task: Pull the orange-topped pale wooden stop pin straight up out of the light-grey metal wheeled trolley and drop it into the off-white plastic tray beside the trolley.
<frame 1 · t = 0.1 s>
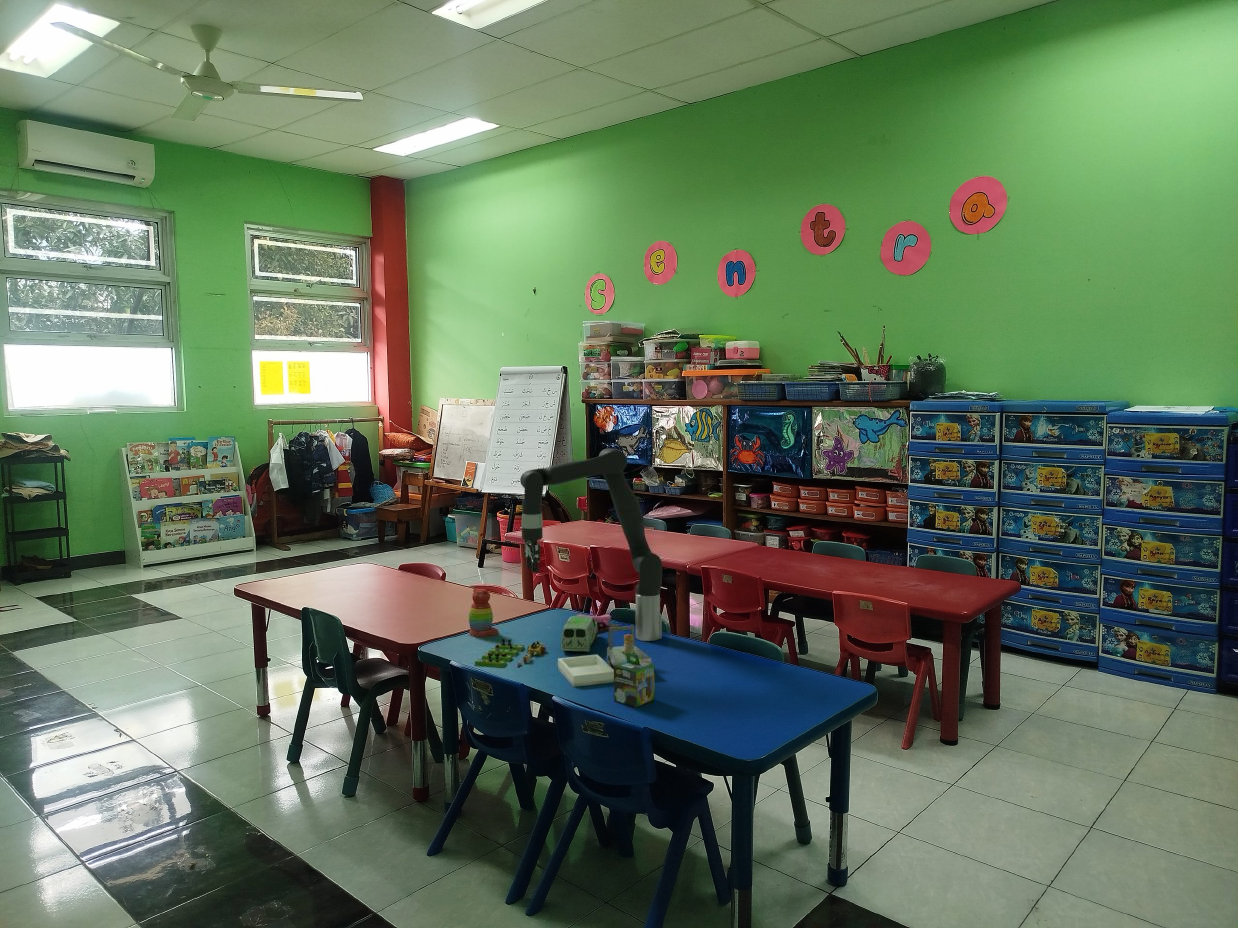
hand: (532, 570, 301), 29 cm above the table, fingers open, 8 cm apart
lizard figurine: (594, 630, 332), on the table
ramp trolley: (628, 670, 279), on the table
stop pin: (628, 652, 279), in the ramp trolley
parts tray: (585, 675, 275), on the table
toy garden set: (512, 659, 294), on the table
stacking bear: (481, 633, 324), on the table
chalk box: (634, 701, 251), on the table
toy car: (579, 645, 309), on the table
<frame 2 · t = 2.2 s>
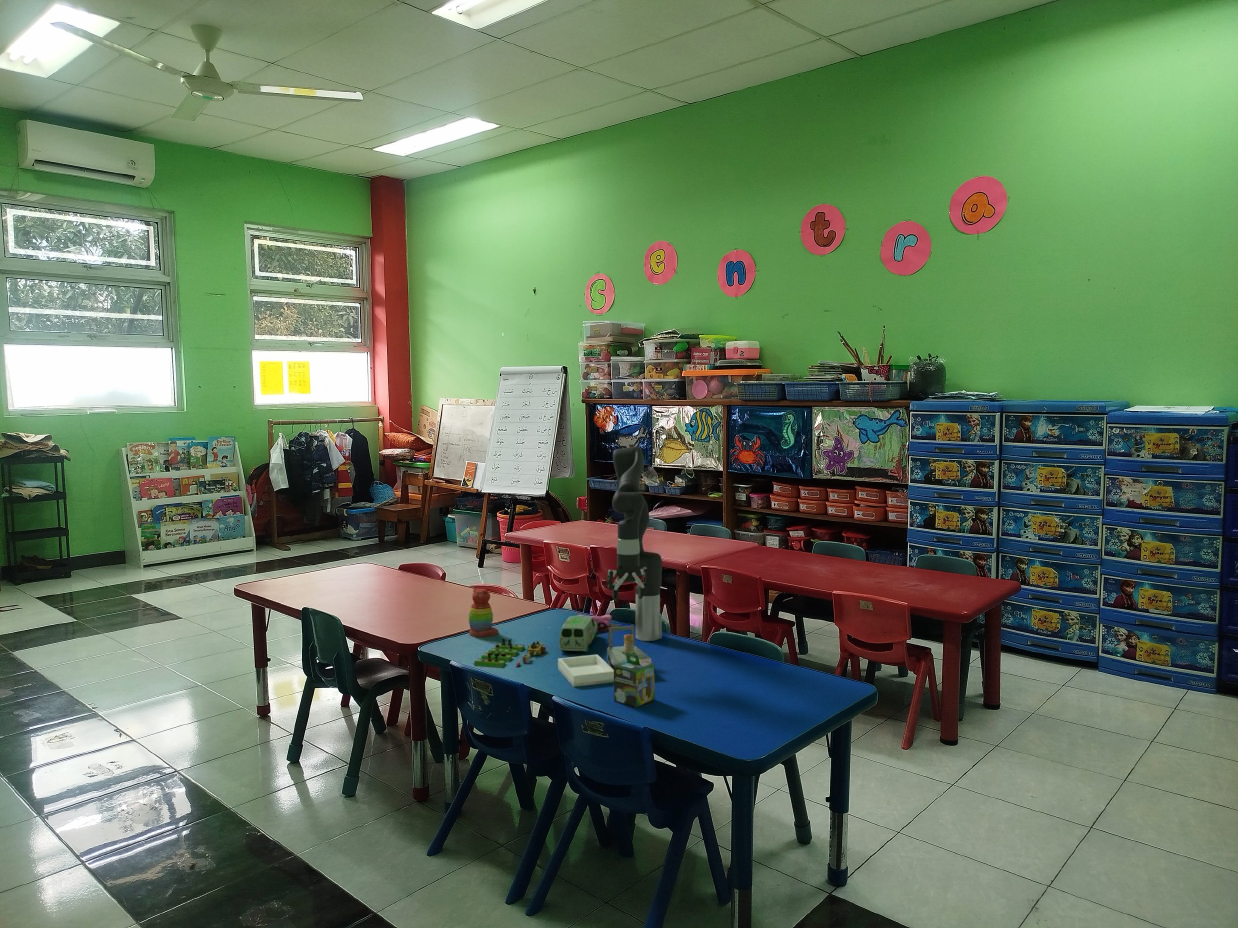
hand: (628, 599, 278), 24 cm above the table, fingers open, 8 cm apart
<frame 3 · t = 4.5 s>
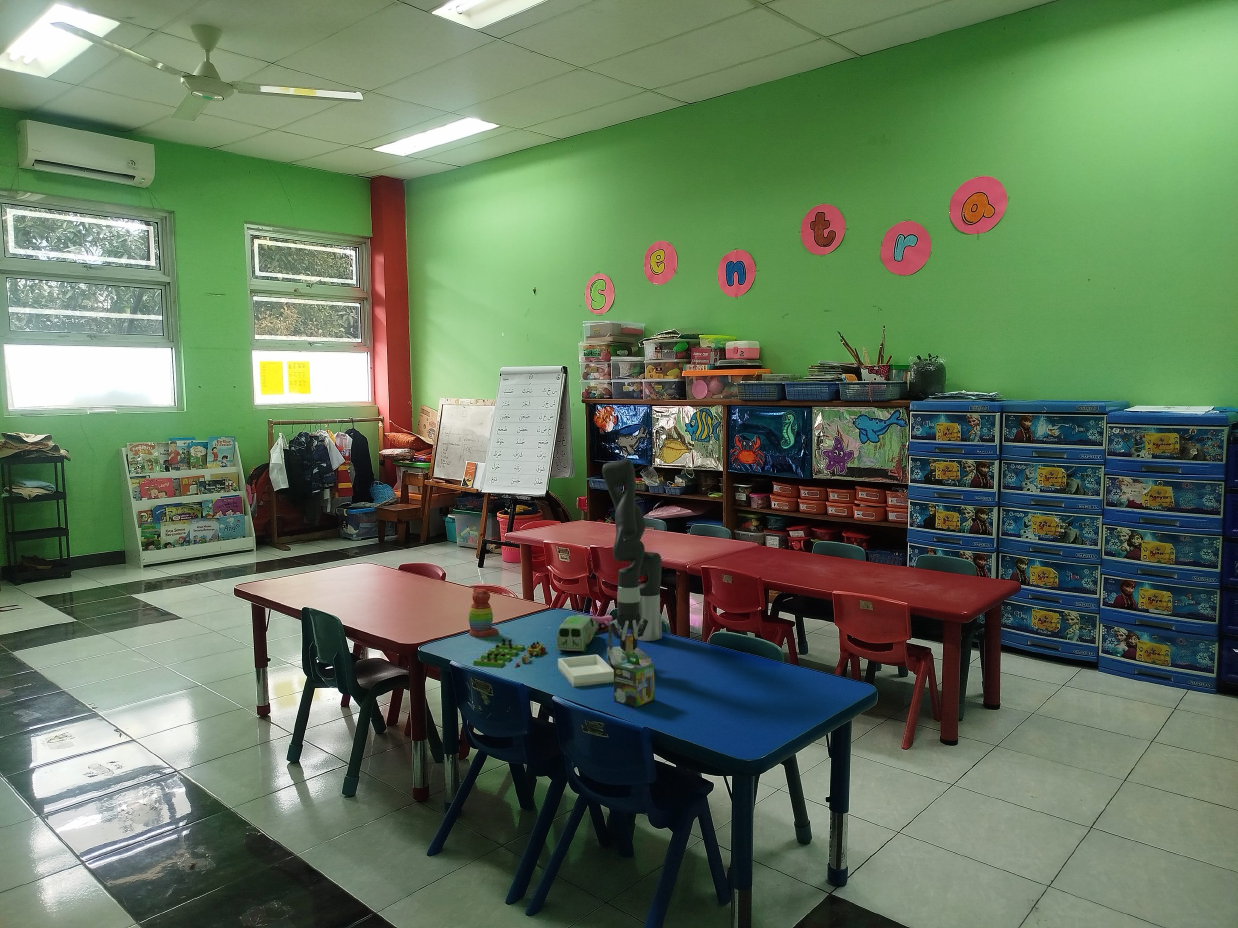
hand: (628, 649, 279), 7 cm above the table, fingers closed on stop pin, 3 cm apart
stop pin: (628, 652, 279), in the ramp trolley, touching gripper
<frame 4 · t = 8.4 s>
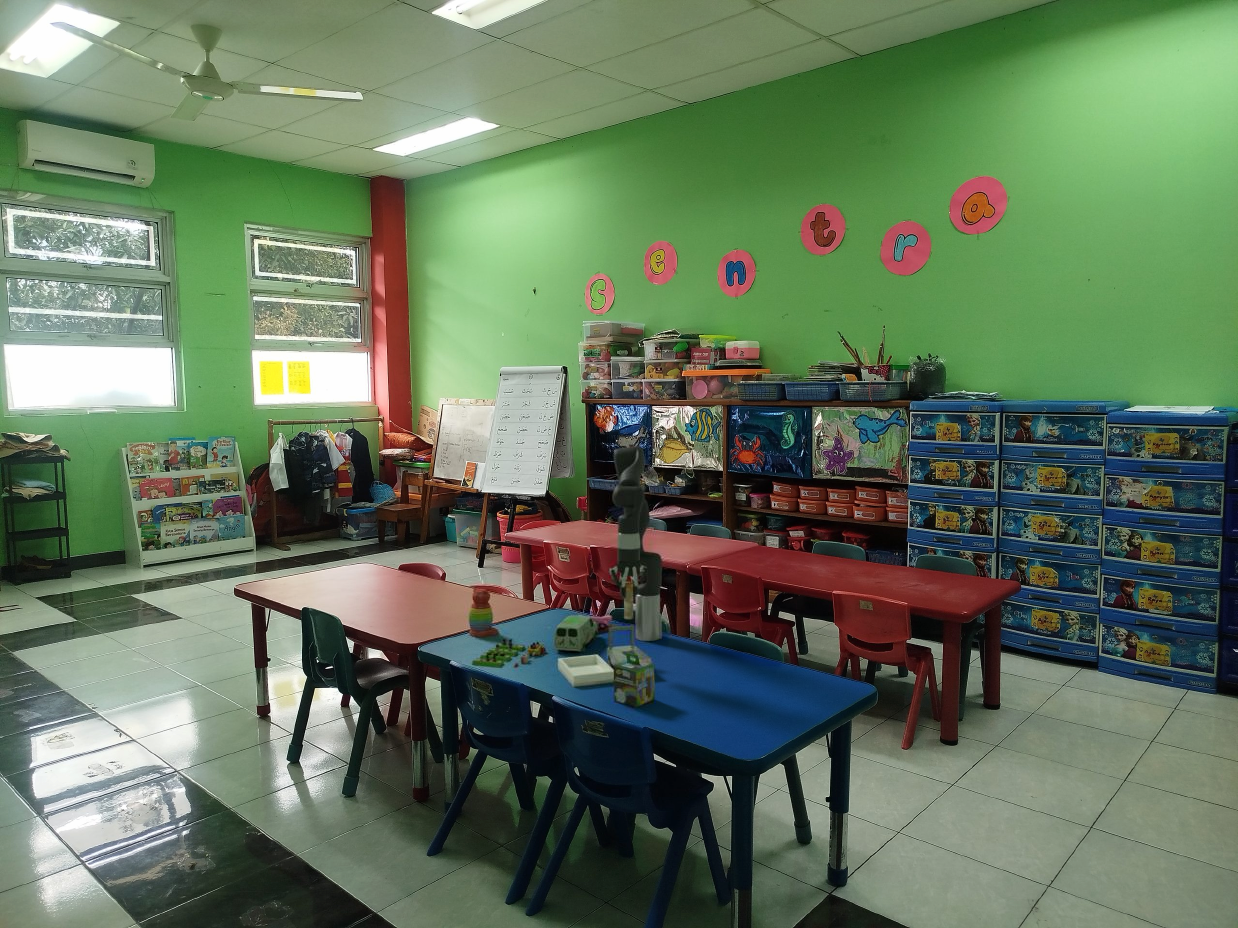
hand: (628, 596, 278), 25 cm above the table, fingers closed on stop pin, 3 cm apart
stop pin: (628, 600, 278), point 24 cm above the table, touching gripper
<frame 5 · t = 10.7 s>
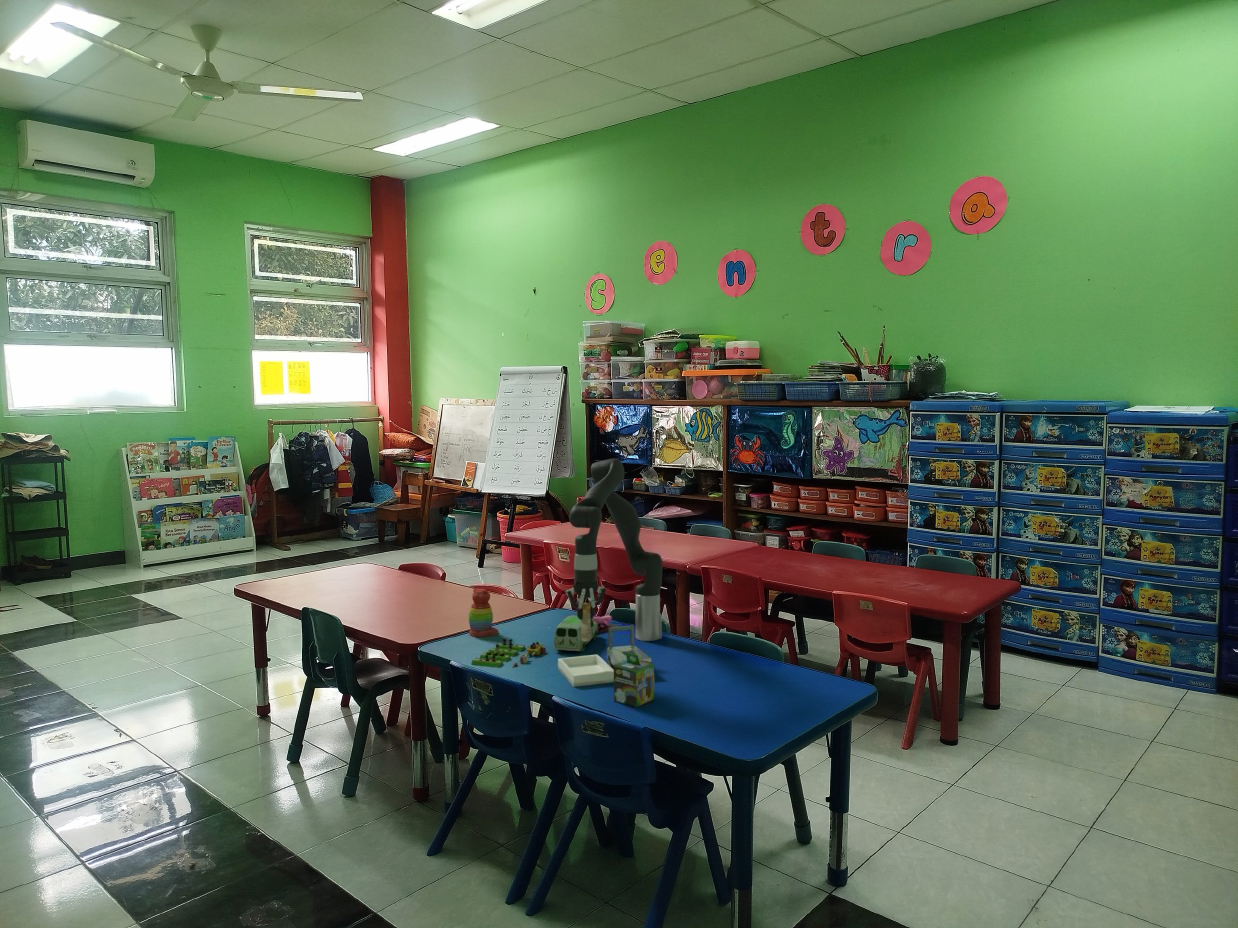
hand: (585, 618, 273), 19 cm above the table, fingers closed on stop pin, 3 cm apart
stop pin: (585, 621, 273), point 18 cm above the table, touching gripper
when the fingers open (10 cm above the table, at t = 12.5 s): stop pin drops 2 cm, resting on parts tray.
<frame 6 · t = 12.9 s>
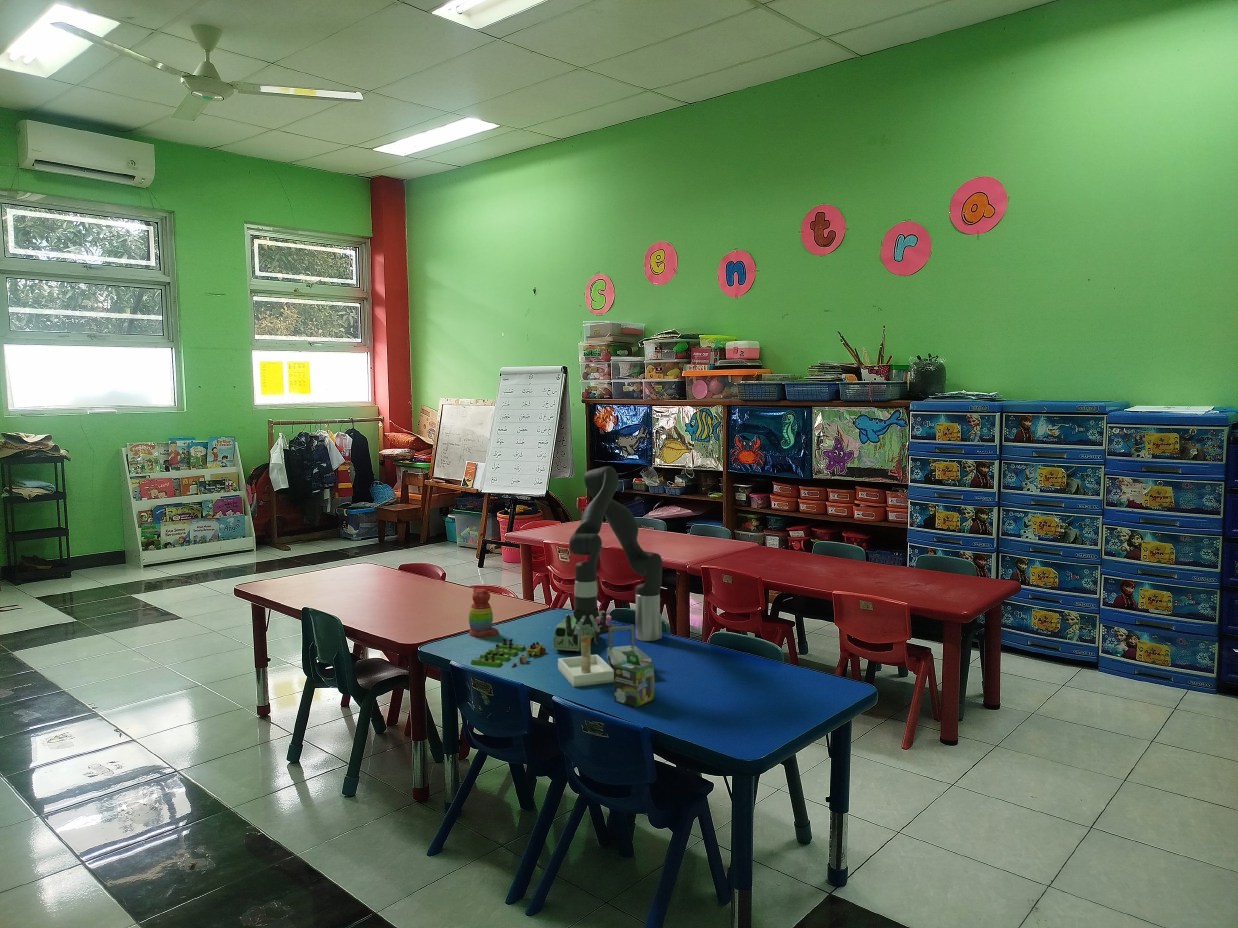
hand: (585, 643, 274), 11 cm above the table, fingers open, 6 cm apart
stop pin: (586, 654, 274), in the parts tray, point 7 cm above the table
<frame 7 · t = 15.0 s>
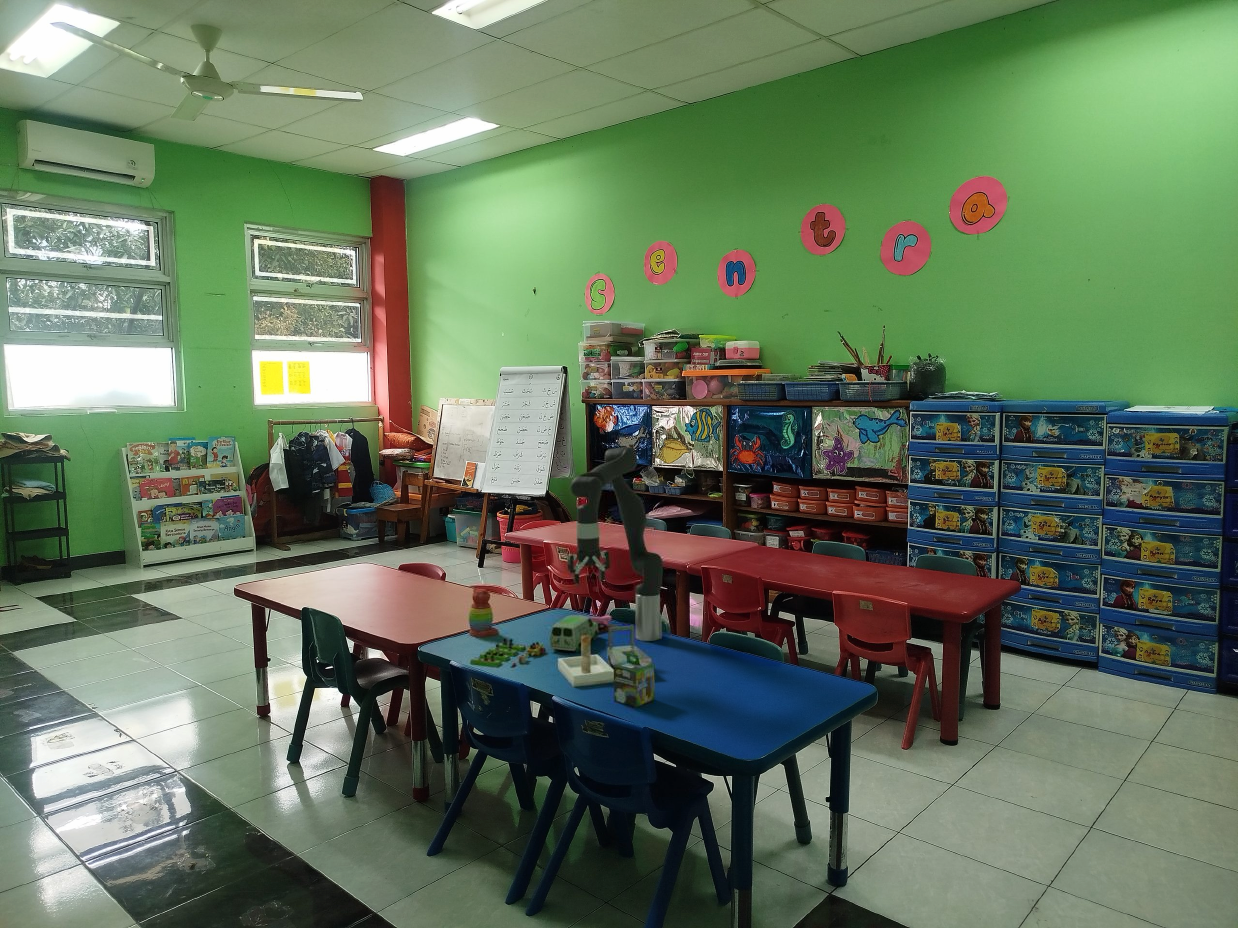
hand: (589, 582, 281), 29 cm above the table, fingers open, 8 cm apart
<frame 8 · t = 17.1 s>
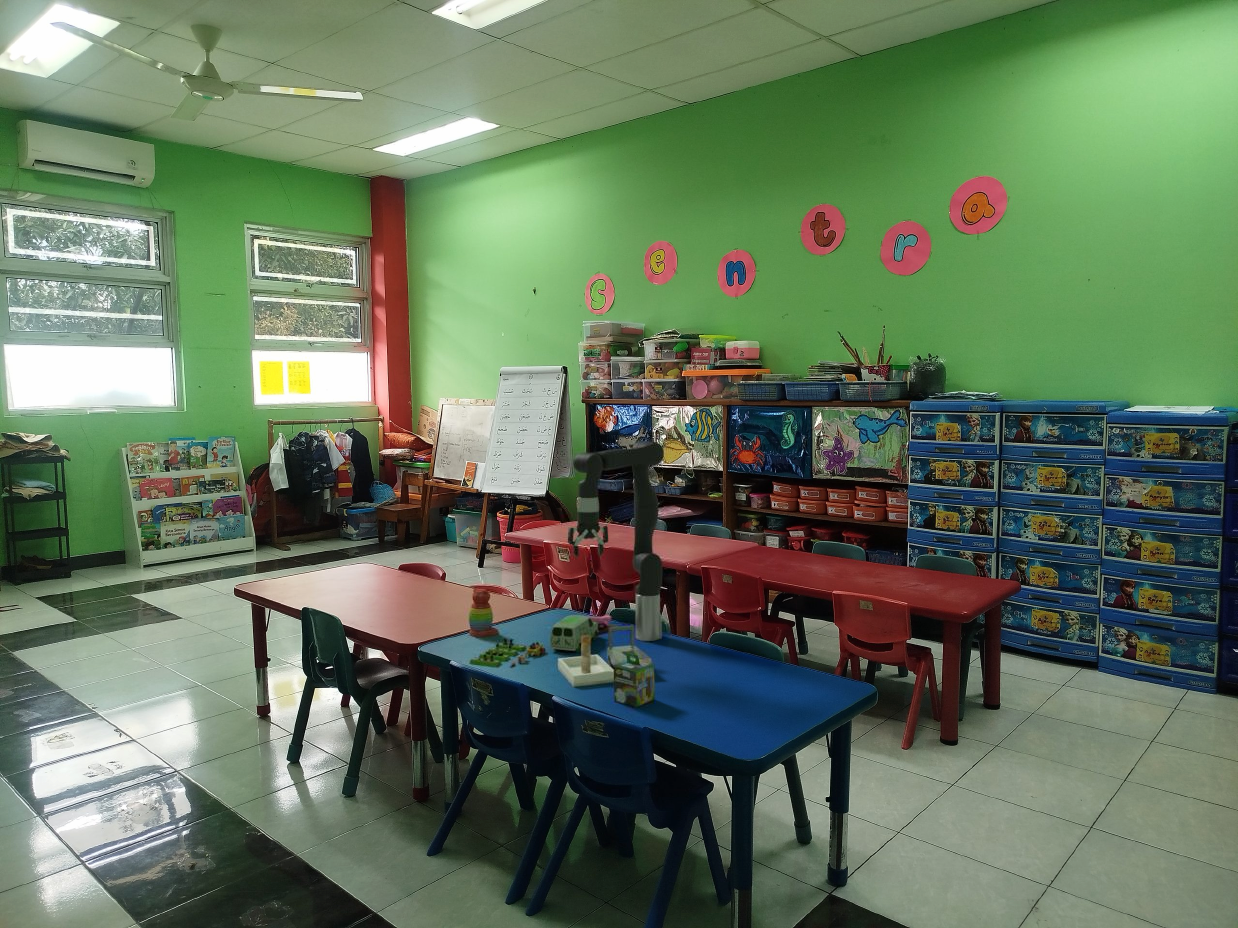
hand: (588, 555, 293), 36 cm above the table, fingers open, 8 cm apart
at the end: stop pin inside the target area on the parts tray (0.0 cm from its centre), point 7.0 cm above the parts tray's base; the gripper is holding nothing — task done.
